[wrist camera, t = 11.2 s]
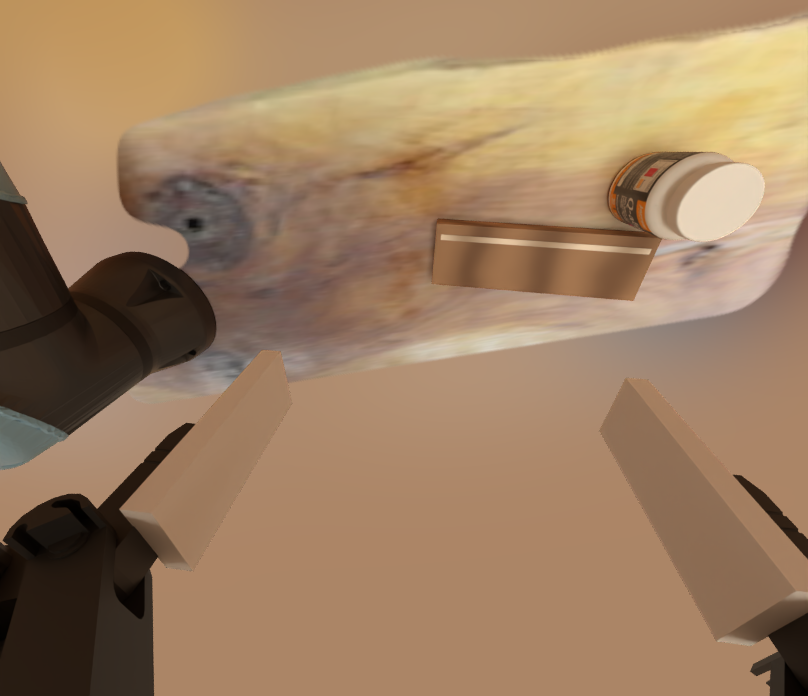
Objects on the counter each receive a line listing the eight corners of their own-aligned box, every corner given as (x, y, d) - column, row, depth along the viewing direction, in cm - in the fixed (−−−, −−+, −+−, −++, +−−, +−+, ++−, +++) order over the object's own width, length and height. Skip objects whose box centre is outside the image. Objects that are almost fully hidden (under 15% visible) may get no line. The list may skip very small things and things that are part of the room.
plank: (432, 275, 35) (431, 284, 33) (438, 218, 32) (436, 223, 30) (621, 291, 33) (633, 301, 31) (647, 232, 30) (662, 238, 28)
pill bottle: (591, 204, 30) (645, 225, 21) (643, 138, 27) (729, 132, 18) (640, 233, 30) (710, 265, 22) (695, 172, 27) (800, 182, 19)
